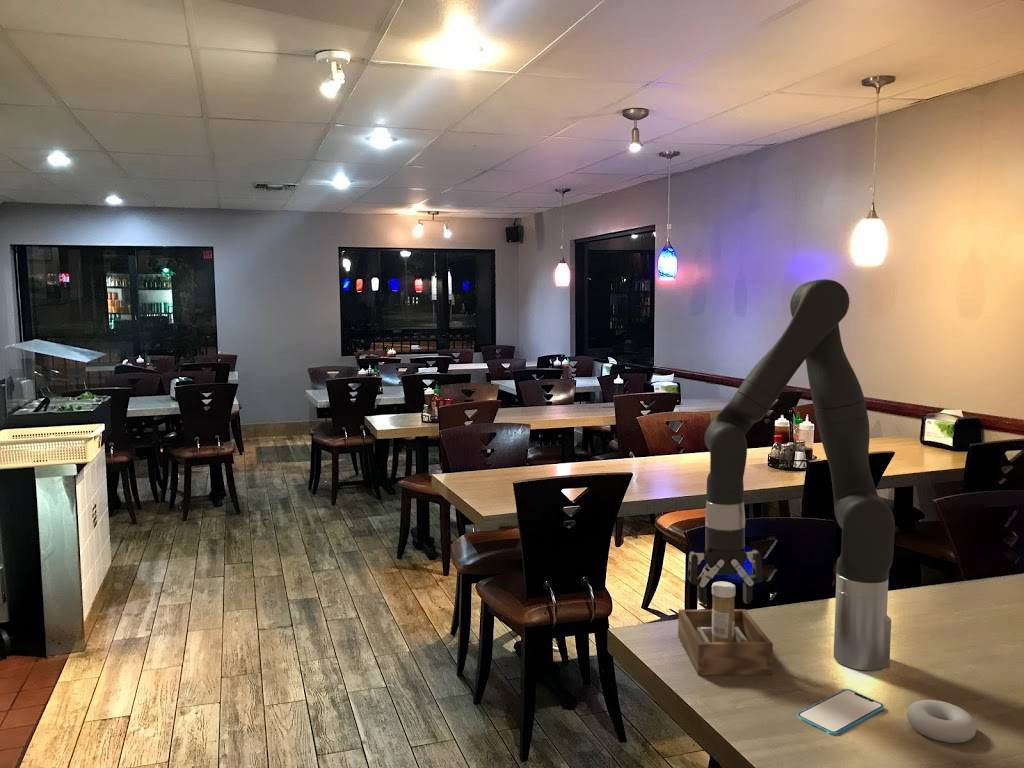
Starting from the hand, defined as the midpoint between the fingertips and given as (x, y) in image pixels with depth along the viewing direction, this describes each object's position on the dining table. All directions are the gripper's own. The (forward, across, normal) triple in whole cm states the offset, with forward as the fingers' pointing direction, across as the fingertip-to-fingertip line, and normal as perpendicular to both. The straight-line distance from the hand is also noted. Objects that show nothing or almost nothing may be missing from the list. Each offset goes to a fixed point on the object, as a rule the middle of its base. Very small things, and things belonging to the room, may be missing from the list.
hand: (724, 603), depth 153 cm
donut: (+12, -28, +28) cm, 41 cm away
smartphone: (+12, -14, +22) cm, 29 cm away
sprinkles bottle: (+10, 0, 0) cm, 10 cm away
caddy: (+11, 0, 0) cm, 11 cm away
